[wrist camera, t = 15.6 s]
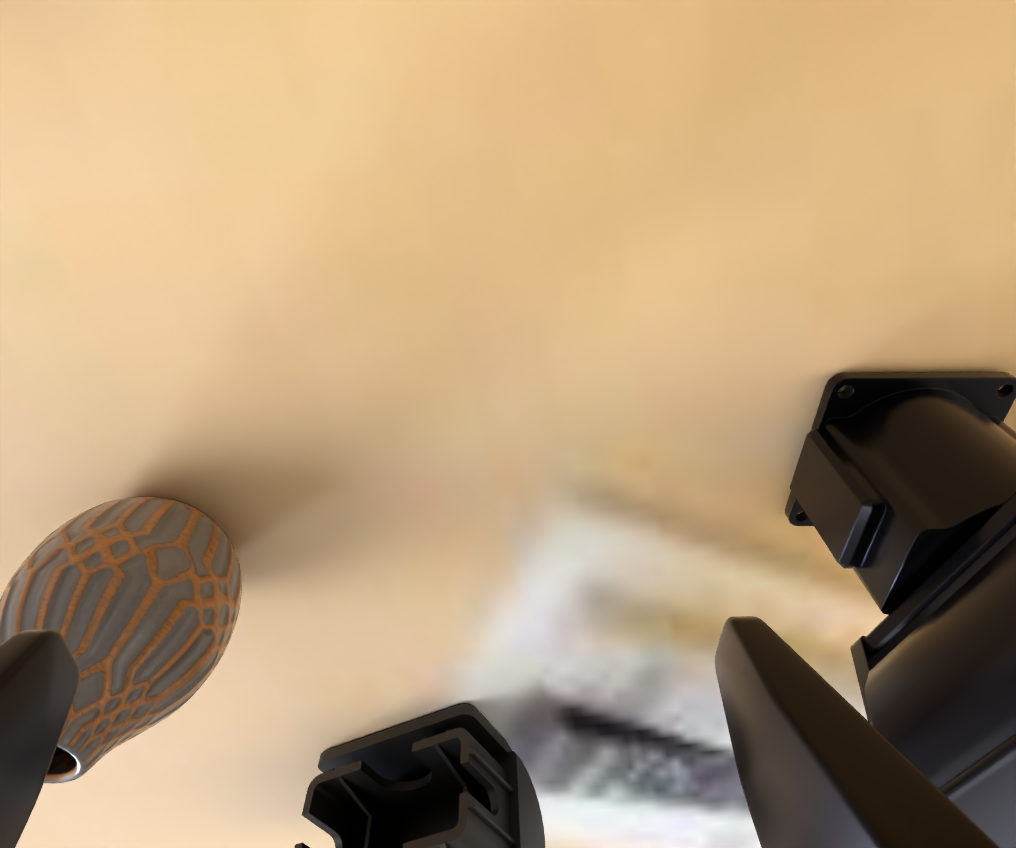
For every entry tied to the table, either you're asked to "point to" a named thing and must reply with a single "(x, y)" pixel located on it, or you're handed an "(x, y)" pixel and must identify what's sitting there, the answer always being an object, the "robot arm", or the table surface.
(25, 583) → the vase
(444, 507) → the table surface
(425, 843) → the end cap
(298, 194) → the table surface
